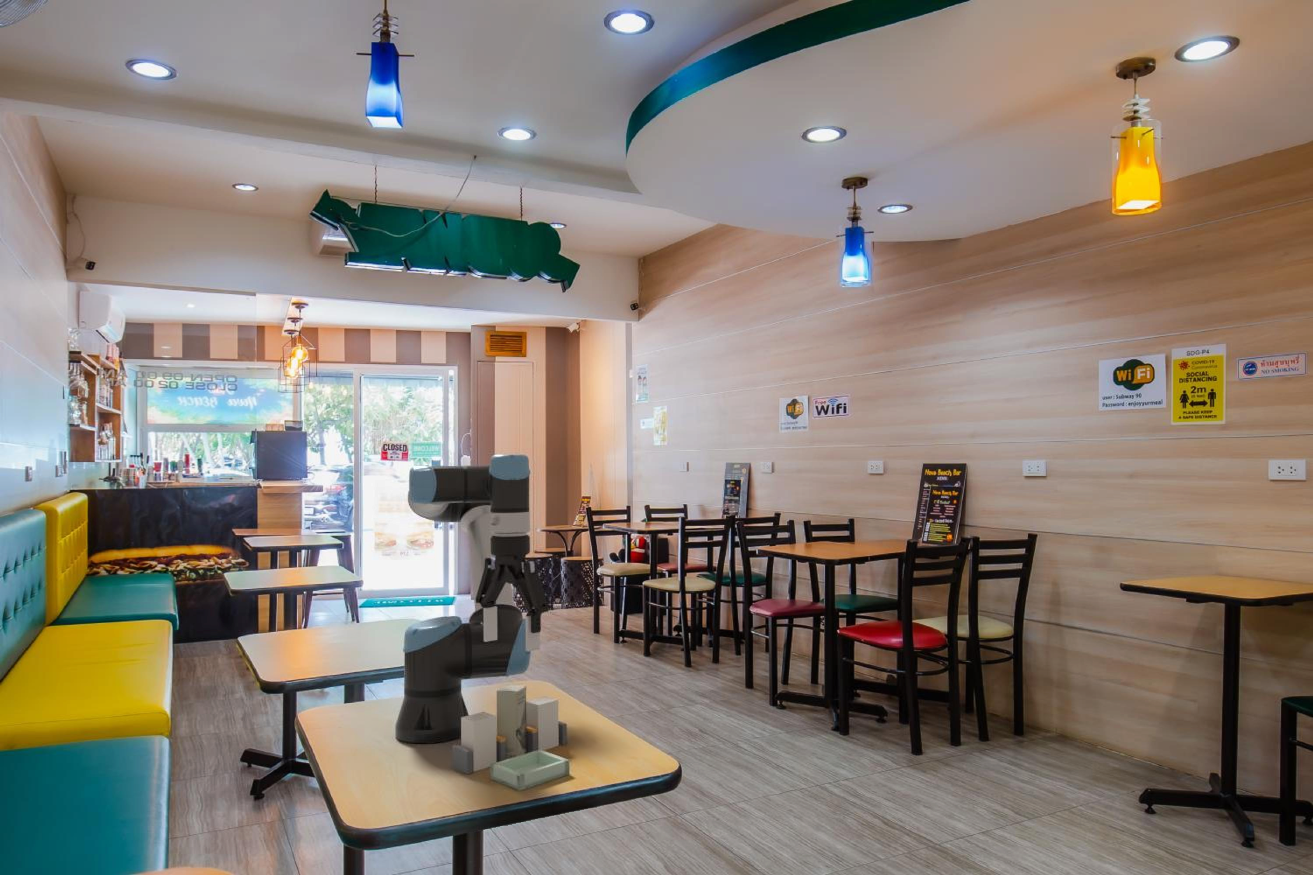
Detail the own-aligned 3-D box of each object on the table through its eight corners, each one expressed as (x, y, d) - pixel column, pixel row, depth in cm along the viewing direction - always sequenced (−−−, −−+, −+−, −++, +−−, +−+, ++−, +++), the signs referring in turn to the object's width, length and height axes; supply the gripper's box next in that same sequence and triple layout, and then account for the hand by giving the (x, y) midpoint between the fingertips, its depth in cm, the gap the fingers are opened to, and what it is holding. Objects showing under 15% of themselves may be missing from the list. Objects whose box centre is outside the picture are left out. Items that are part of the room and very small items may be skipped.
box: (517, 760, 165) (517, 691, 165) (495, 759, 166) (495, 690, 166) (527, 751, 170) (527, 684, 170) (506, 750, 171) (505, 683, 171)
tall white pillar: (525, 747, 173) (525, 701, 173) (546, 741, 176) (545, 696, 176) (538, 751, 170) (538, 704, 170) (558, 745, 173) (558, 699, 174)
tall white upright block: (461, 766, 162) (461, 717, 162) (484, 759, 166) (483, 711, 166) (473, 771, 159) (473, 721, 159) (496, 764, 163) (496, 715, 163)
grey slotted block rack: (451, 767, 161) (451, 742, 161) (551, 738, 178) (550, 715, 178) (467, 774, 158) (467, 748, 158) (566, 743, 174) (566, 720, 174)
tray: (490, 778, 155) (490, 764, 155) (539, 762, 163) (539, 749, 163) (519, 790, 149) (519, 775, 149) (569, 773, 157) (569, 759, 157)
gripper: (457, 532, 175) (458, 639, 174) (534, 538, 157) (535, 657, 157) (489, 530, 180) (489, 634, 180) (566, 535, 163) (567, 650, 162)
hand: (511, 645), depth 168 cm, fingers open, 13 cm apart
